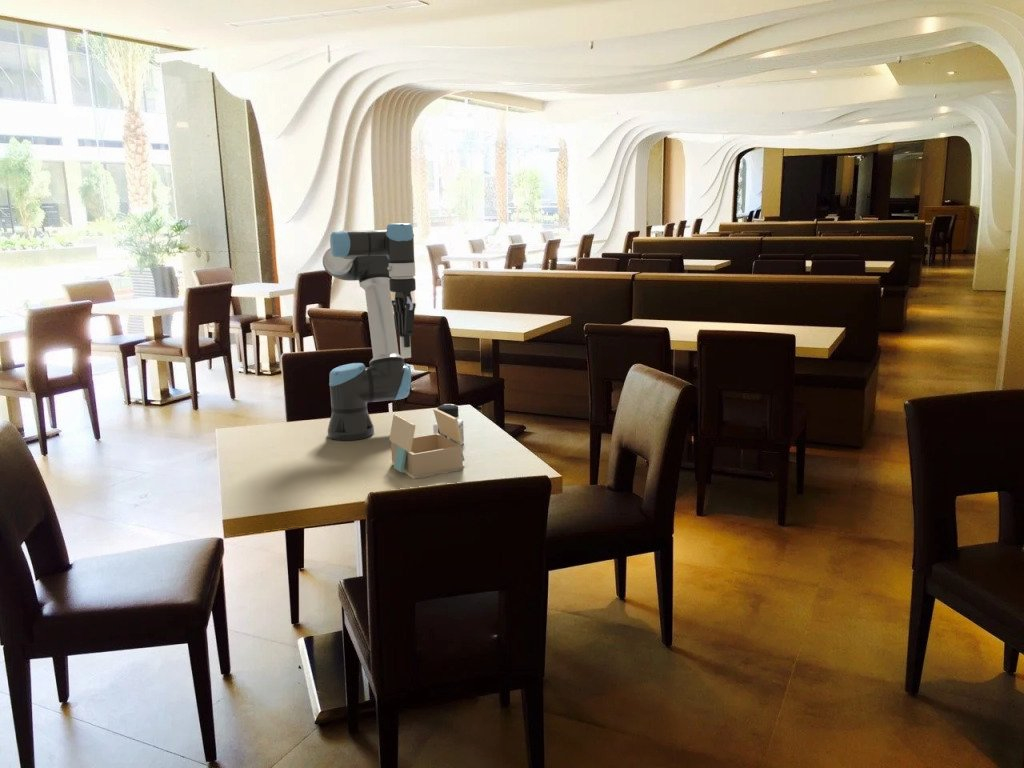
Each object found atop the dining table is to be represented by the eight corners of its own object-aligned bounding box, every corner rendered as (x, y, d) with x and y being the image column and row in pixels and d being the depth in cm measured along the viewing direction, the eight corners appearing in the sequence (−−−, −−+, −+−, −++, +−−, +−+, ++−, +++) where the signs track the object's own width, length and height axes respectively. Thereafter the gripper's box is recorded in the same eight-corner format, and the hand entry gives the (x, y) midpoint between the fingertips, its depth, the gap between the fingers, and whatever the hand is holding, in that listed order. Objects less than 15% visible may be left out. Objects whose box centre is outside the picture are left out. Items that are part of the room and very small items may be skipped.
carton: (392, 463, 240) (390, 440, 239) (438, 455, 247) (437, 433, 246) (414, 479, 226) (412, 454, 225) (462, 469, 233) (462, 446, 232)
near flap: (387, 461, 238) (385, 461, 238) (396, 414, 237) (393, 414, 237) (406, 474, 226) (404, 474, 226) (415, 425, 225) (412, 424, 224)
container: (457, 449, 253) (456, 408, 251) (433, 448, 255) (432, 408, 252) (464, 442, 261) (462, 402, 258) (440, 441, 262) (439, 402, 260)
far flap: (433, 409, 243) (435, 408, 243) (445, 451, 247) (447, 450, 247) (454, 419, 230) (456, 418, 231) (466, 463, 235) (468, 462, 235)
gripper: (382, 276, 241) (386, 355, 246) (398, 279, 230) (402, 362, 235) (405, 275, 244) (409, 353, 249) (422, 278, 233) (426, 359, 238)
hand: (406, 357), depth 242 cm, fingers closed
